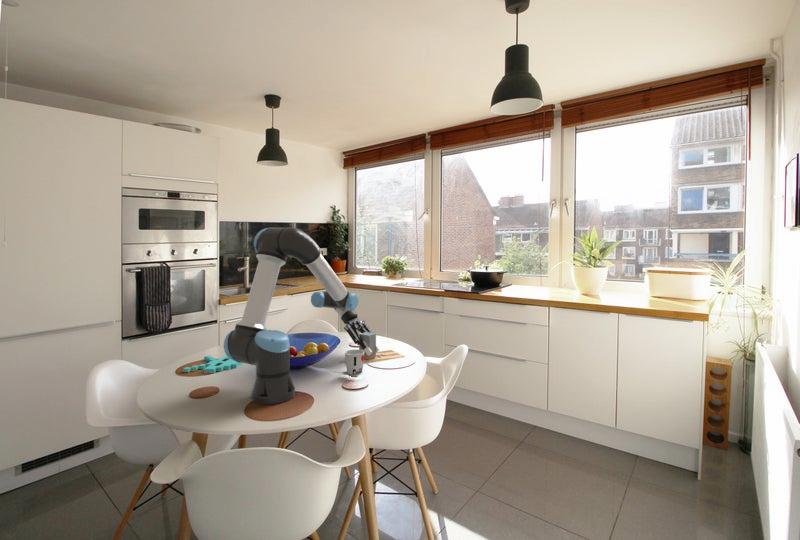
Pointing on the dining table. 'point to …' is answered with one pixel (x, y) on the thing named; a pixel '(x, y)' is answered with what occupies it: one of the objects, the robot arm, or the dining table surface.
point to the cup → (354, 361)
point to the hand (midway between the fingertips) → (373, 352)
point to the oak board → (383, 356)
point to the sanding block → (369, 344)
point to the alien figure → (215, 364)
